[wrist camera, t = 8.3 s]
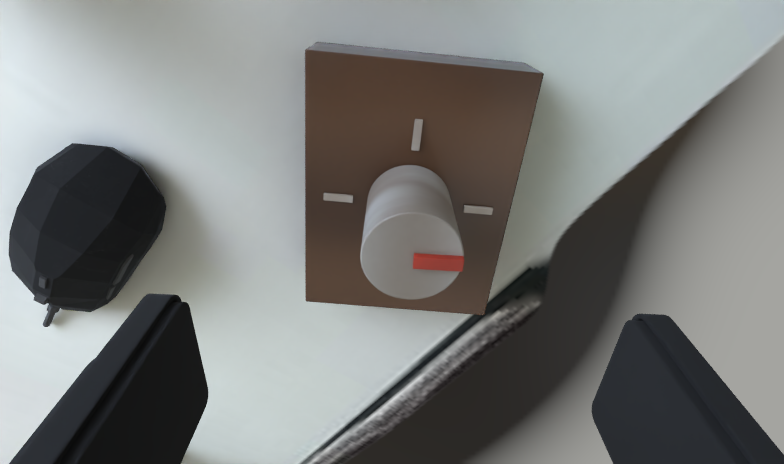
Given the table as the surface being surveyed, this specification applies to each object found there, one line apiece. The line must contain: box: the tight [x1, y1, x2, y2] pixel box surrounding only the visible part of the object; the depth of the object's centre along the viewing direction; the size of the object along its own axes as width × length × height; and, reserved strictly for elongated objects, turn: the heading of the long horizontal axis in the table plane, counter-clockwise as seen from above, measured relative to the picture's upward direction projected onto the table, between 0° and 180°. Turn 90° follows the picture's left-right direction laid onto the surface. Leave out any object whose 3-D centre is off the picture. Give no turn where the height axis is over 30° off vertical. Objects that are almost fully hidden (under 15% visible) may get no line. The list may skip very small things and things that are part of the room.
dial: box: [360, 165, 464, 300], centre depth 19 cm, size 4×4×5 cm
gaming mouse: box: [9, 143, 166, 327], centre depth 24 cm, size 6×15×4 cm, turn 142°
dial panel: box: [305, 42, 544, 315], centre depth 23 cm, size 13×10×3 cm
